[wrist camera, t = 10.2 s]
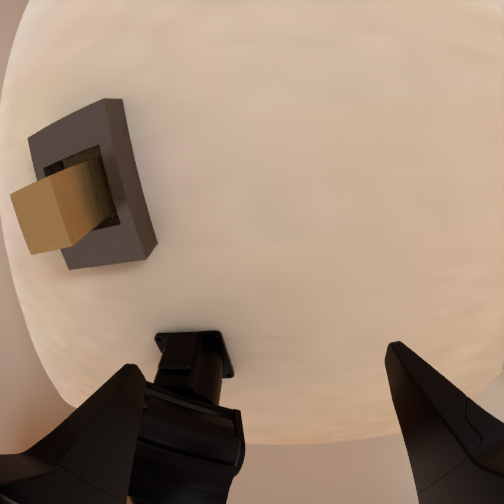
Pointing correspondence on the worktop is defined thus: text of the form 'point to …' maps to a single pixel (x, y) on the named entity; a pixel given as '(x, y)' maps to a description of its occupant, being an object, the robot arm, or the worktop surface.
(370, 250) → the worktop surface
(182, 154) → the worktop surface
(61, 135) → the steel rail
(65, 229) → the brass block
